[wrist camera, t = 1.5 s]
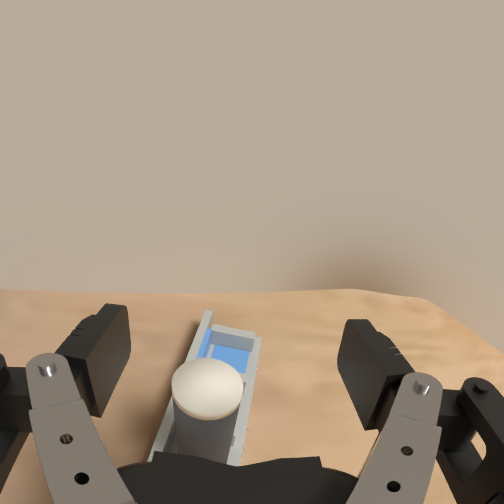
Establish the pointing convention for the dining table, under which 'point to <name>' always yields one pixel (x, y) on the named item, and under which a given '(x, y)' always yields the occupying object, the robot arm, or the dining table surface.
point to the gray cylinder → (206, 407)
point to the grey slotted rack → (236, 355)
